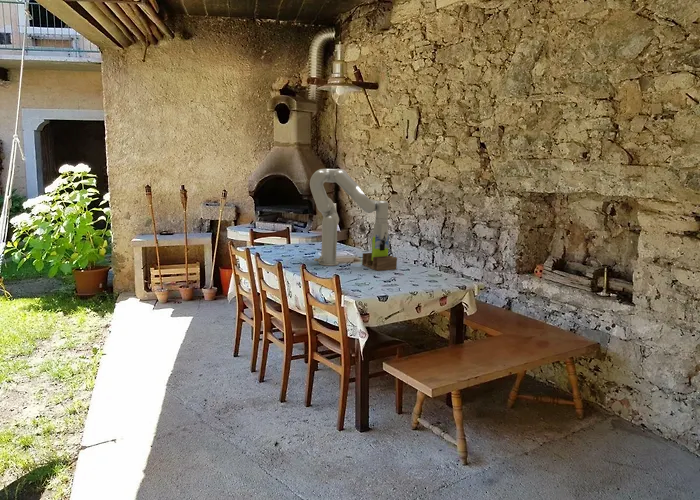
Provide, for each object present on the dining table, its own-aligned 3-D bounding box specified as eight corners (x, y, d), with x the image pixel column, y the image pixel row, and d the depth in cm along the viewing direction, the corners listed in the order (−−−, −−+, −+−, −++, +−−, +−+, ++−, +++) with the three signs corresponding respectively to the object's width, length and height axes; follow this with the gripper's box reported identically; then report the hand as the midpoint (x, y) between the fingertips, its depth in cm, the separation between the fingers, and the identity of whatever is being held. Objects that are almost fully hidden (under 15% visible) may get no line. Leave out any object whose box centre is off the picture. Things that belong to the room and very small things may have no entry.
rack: (396, 269, 349) (397, 257, 348) (377, 271, 342) (378, 259, 341) (380, 263, 364) (381, 252, 363) (362, 264, 357) (362, 253, 356)
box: (384, 259, 357) (386, 232, 353) (388, 260, 353) (389, 233, 350) (370, 260, 352) (372, 233, 348) (374, 262, 348) (375, 234, 345)
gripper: (369, 219, 353) (367, 247, 356) (384, 222, 338) (382, 252, 342) (379, 218, 356) (377, 246, 360) (394, 222, 342) (392, 251, 346)
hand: (380, 249), depth 351 cm, fingers closed on box, 4 cm apart
